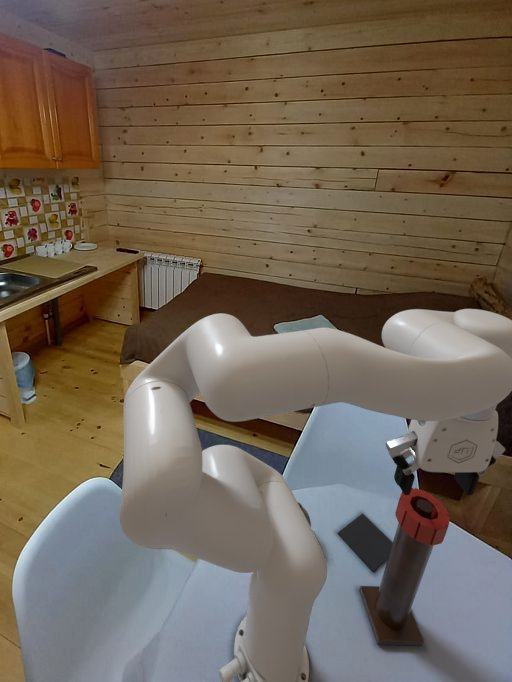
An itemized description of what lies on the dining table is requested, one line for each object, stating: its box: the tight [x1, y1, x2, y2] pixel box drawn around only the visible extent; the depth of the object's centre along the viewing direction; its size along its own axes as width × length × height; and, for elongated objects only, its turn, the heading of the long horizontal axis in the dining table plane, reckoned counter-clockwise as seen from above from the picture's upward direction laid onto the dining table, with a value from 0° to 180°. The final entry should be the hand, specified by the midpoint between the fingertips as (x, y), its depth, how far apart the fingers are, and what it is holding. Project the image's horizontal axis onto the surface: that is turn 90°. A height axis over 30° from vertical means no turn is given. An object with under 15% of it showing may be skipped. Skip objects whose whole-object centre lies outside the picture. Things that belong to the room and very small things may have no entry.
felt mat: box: [337, 513, 393, 573], centre depth 77 cm, size 9×9×1 cm
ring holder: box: [358, 499, 434, 646], centre depth 59 cm, size 8×8×29 cm
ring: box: [394, 487, 451, 547], centre depth 55 cm, size 7×7×4 cm
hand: (432, 486), depth 53 cm, fingers open, 9 cm apart
